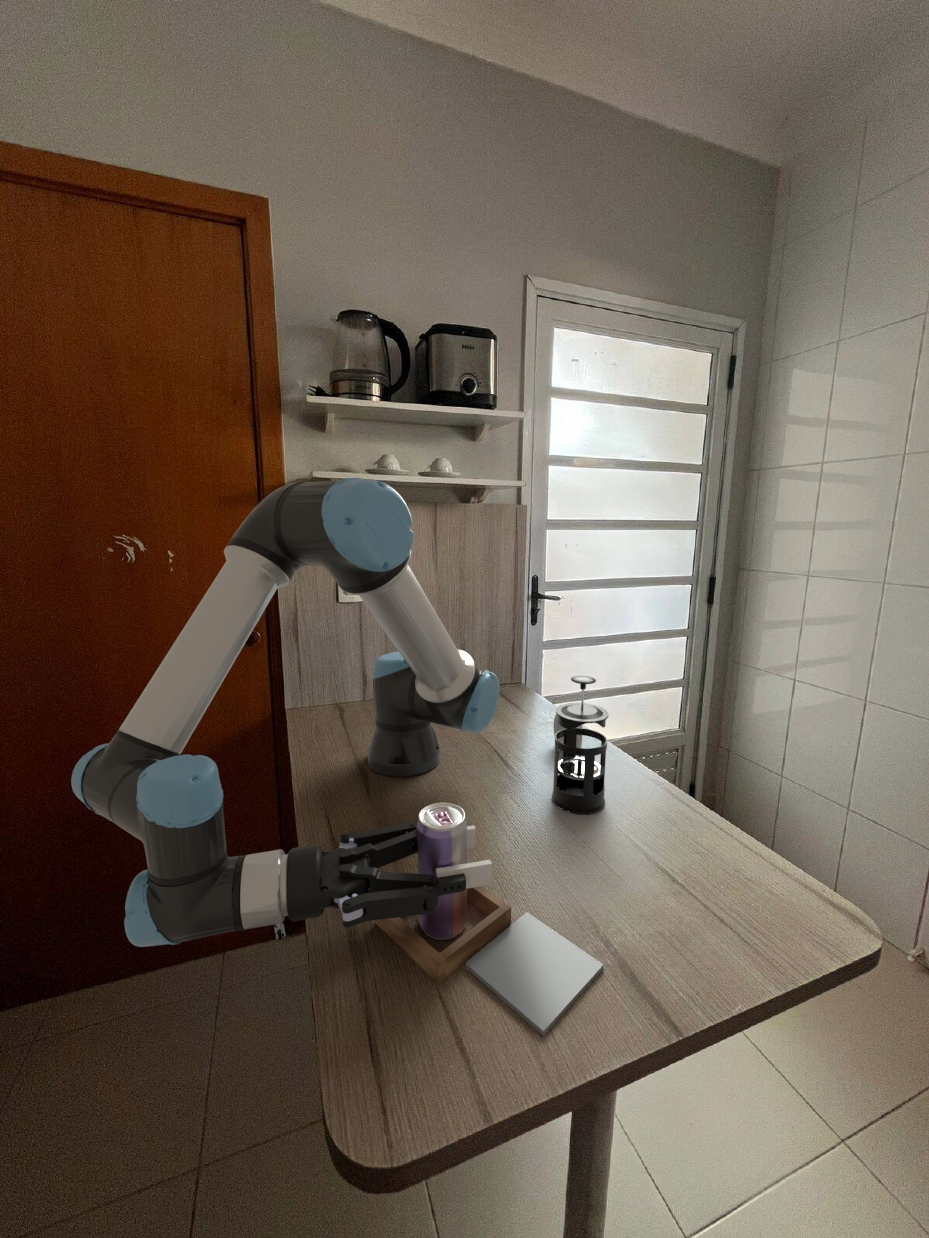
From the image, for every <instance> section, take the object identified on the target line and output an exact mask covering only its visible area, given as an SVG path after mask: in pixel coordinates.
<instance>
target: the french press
mask: <svg viewBox="0 0 929 1238" xmlns="http://www.w3.org/2000/svg"><path fill="white" fill-rule="evenodd" d="M570 681H571V682H572V683H576V684H580V686H579V687H580V690H581V702H567V703H564V704H560V705H558V706H557V707H556V708H555V713H556V714H557V715H558V723H559V725H560V726H562V727H563V728H564V729H563V730H560V731H558V732H557V733H556V734H555V736H554V757H553V758H554V759H553V761H554V762H553V763H554V764H553V781H552V782H553V784H552V785H553V786H552V787H553V788H552V789H553V790H552V793H551V800H553V801H552V802H554V803H555V804H556V805H557V806H558V807H560V808H562V809H563V810H562V809H561V810H562V811H564V810H565V811H564V812H566V811H569V812H568V813H570V812H571V813H570V814H574V813H575V814H574V815H581V814H586V815H592V814H591V813H593V814H596V813H595V812H597V811H599V812H601V811H602V810H603V809H604V808H603V807H605V806H604V805H605V804H606V799H605V788H606V787H605V776H606V775H605V774H606V773H605V772H606V760H607V759H606V755H607V748H608V738H607V737H606V735H604V734H603V733H601V732H599V731H596V730H593V729H589V728H583V725H586V724H598V725H599V726H600V727H602V728H605V727H606V720H608V718H609V711H607V709H606V708H604V707H602V706H600V705H599V706H598V705H597V704H596V705H595V704H592V703H584V698H585V696H584V694H585V690H586V688H587V685H590V684H591V685H592V684H594V683H596V682H597V679H596V678H594V677H592V676H588V675H576V676H572V677H571V678H570ZM556 714H555V715H556ZM578 726H580V728H577V727H578ZM577 735H580V745H579V748H576V739H577ZM563 736H564V744H563V743H561V742H559V741H558V739H559V738H561V737H563ZM583 736H584V737H585V736H587V737H590V738H594V739H596V740H598V741H600V746H597V747H593V748H590V747H589V748H582V746H581V745H583ZM562 751H563V752H562ZM560 752H562V758H561V759H559V757H560V755H559V754H560ZM598 755H600V760H599V761H600V762H598V761H596V756H598ZM572 789H573V790H582V795H579V794H572V793H568V792H566V791H567V790H572ZM554 803H553V804H554ZM555 804H554V805H555ZM556 805H555V806H556ZM557 806H556V807H557ZM558 807H557V808H558ZM560 808H559V809H560ZM602 808H603V809H602ZM601 809H602V810H601ZM600 810H601V811H600ZM597 813H598V812H597Z"/></svg>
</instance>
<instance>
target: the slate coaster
mask: <svg viewBox="0 0 929 1238" xmlns="http://www.w3.org/2000/svg"><path fill="white" fill-rule="evenodd" d="M464 968H465V969H466V970H467V971H468V972H469V973H470V974H472V975H473V977H475V978H476V979H477V980H479V981H480V982H481V983H482V984H483V985H484V986H486V987H487V988H488V989H489V990H490V991H491V992H492V993H494V994H495V996H497V997H498V998H499V999H500V1000H501V1001H502V1002H503V1003H504V1004H506V1006H509V1008H511V1010H513V1011H514V1012H515V1013H516V1014H517V1015H518V1016H520V1017H521V1018H522V1019H523V1020H524V1021H526V1023H527V1024H529V1025H530V1026H531V1027H532V1028H533V1029H534V1030H535V1031H537V1032H538V1034H539V1035H541V1036H542V1037H545V1036H546V1034H547V1033H548V1032H549V1031H550V1030H551V1028H552V1027H554V1025H555V1024H556V1023H557V1022H558V1021H559V1020H560V1018H561V1017H562V1016H563V1015H564V1014H565V1013H566V1012H567V1011H568V1009H569V1008H570V1007H571V1006H572V1005H573V1004H574V1003H575V1002H576V1000H577V999H578V998H579V997H580V996H581V995H582V994H583V993H584V991H585V990H586V989H587V988H588V987H589V986H590V985H591V983H592V982H594V981H595V979H596V978H597V977H598V976H599V975H600V974H601V972H602V971H604V964H603V963H602V962H600V961H599V960H597V959H596V958H595V957H593V956H592V955H591V954H589V953H588V952H586V951H584V950H583V949H582V948H580V947H579V946H577V945H575V944H574V943H573V942H571V941H570V940H568V939H567V938H565V937H564V936H563V935H561V934H559V933H558V932H556V931H555V930H554V929H553V928H552V927H549V926H548V925H546V924H545V923H544V922H542V921H541V920H539V919H538V918H536V917H535V916H534V915H532V914H531V913H529V912H528V911H527V912H525V913H524V914H523V915H521V916H520V917H519V918H518V919H516V921H514V922H513V923H511V925H510V926H509V927H507V928H506V929H505V930H504V931H502V932H501V933H500V934H499V935H498V936H496V937H495V938H494V939H493V940H492V941H490V942H489V943H488V944H487V945H485V946H484V947H483V948H482V949H481V950H479V951H478V952H477V953H476V954H475V955H473V956H472V957H471V958H470V959H468V960H467V961H466V962H465V963H464Z"/></svg>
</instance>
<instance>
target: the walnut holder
mask: <svg viewBox="0 0 929 1238" xmlns="http://www.w3.org/2000/svg"><path fill="white" fill-rule="evenodd" d="M467 902H469V903H470V904H472V905H473V906H474V907H476V908H477V909H478V910H480V911H481V912H482V913H484V914H485V915H486V917H485V918H483V919H482V920H481V921H480V922H478V923H477V924H476V925H475V926H473V927H472V928H470V929H469V930H467V932H465V933H464V934H462V935H461V936H460V937H458V939H456V940H455V941H453V942H452V943H451V944H450V945H448V946H447V947H446V948H445V949H443V950H442V951H441V952H438V951H437V950H436V949H435V948H434V947H433V946H432V945H431V944H429V943H428V942H427V941H426V940H425V939H424V938H423V937H422V936H421V935H419V934H418V933H417V932H416V931H415V930H414V929H413V928H411V926H410V925H409V924H407V923H406V922H405V921H404V920H403V919H402V918H401V917H397V918H388V919H380V920H374V921H375V925H377V926H378V927H379V928H380V929H381V930H382V931H383V932H384V933H385V934H386V935H387V936H388V937H389V938H390V939H392V941H394V943H396V944H397V945H398V946H399V948H401V949H402V950H403V951H404V952H405V953H406V954H407V955H408V956H409V957H410V958H411V959H412V960H413V961H415V963H416V964H417V965H419V967H420V968H421V969H423V970H424V971H425V973H427V974H428V975H429V976H430V977H431V978H432V979H433V980H434V981H435V982H436V983H437V984H441V983H442V982H443V981H445V980H446V978H448V977H449V976H450V975H452V974H453V973H454V972H455V971H456V970H458V969H459V968H460V967H461V966H462V965H465V963H466V962H467V961H468V960H469V959H470V958H472V957H473V956H474V955H475V954H477V953H478V952H479V951H480V950H481V949H483V948H484V947H485V946H486V945H487V944H489V943H490V942H491V941H492V940H494V939H495V938H496V937H497V936H498V935H500V934H501V933H502V932H503V931H504V930H506V929H507V928H508V927H509V926H511V925H512V906H511V905H509V904H508V903H506V902H505V901H504V900H502V899H501V898H499V897H498V896H496V895H495V894H493V893H492V892H491V891H489V890H488V889H486V888H485V887H484V886H478V887H473V888H467Z"/></svg>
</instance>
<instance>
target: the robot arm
mask: <svg viewBox="0 0 929 1238" xmlns="http://www.w3.org/2000/svg"><path fill="white" fill-rule="evenodd" d="M413 524H414V523H413V519H412V514H411V512H410V509H409V507H408V505H407V503H406V501H405V500H404V499H403V497H402V496H401V495H400V494H399V492H398V491H397V490H396V489H394V488H393V487H392V486H390V485H389V484H387V483H386V482H383V481H380V480H376V479H366V478H365V479H364V478H360V477H348V478H342V479H341V480H340V479H339V480H334V481H333V480H330V481H329V480H328V481H327V480H326V481H308V482H307V481H298V482H292V483H287V484H285V485H283V486H281V487H278V488H277V489H275V490H274V491H272V492H271V493H269V494H268V495H266V497H264V498H263V499H262V500H261V501H260V502H259V503H258V504H257V505H256V506H255V507H254V508H253V509H252V511H250V513H249V514H248V515H247V516H246V518H245V519H244V520H243V521H242V523H241V524H240V525H239V526H238V528H237V529H236V530H235V532H234V534H233V535H232V537H231V538H230V540H229V541H228V543H227V545H226V546H225V548H224V549H223V554H224V557H225V560H226V561H225V563H223V566H222V568H221V569H220V571H219V572H218V574H217V575H216V577H215V578H214V580H213V582H212V583H211V585H209V587H208V589H207V591H206V593H205V594H204V595H203V597H202V599H201V600H200V601H199V603H198V605H197V606H196V608H195V609H194V611H193V612H192V614H191V615H190V618H189V619H188V621H187V622H186V623H185V625H184V627H183V629H182V630H181V632H180V633H179V634H178V636H177V637H176V640H175V641H174V642H173V644H172V646H171V647H170V649H169V650H168V652H167V653H166V655H165V656H164V657H163V660H162V661H161V662H160V664H159V666H158V668H157V669H156V671H155V672H154V674H153V675H152V677H151V679H150V680H149V681H148V683H147V685H146V686H145V688H144V690H143V691H142V693H141V694H140V695H139V697H138V698H137V700H136V702H135V703H134V705H133V707H132V708H131V709H130V711H129V713H128V714H127V716H126V718H125V719H124V721H123V723H121V725H120V727H119V729H118V730H117V731H116V733H115V735H114V736H113V737H112V739H111V740H110V742H109V743H104V744H99V745H98V746H95V747H94V748H93V749H91V750H89V751H88V752H87V753H85V754H84V755H82V756H81V757H80V759H79V760H78V762H77V763H76V764H75V766H74V768H73V770H72V774H71V780H70V781H71V788H72V792H73V793H74V795H75V796H76V798H78V800H80V802H82V803H83V804H84V805H85V806H86V808H87V809H89V810H90V811H92V812H93V813H94V814H96V815H99V816H101V817H103V818H105V819H107V820H108V821H110V822H112V823H113V824H115V825H116V826H118V827H119V828H120V829H123V830H124V831H125V832H127V833H128V834H130V835H132V837H134V838H136V839H138V841H141V842H142V844H143V848H144V853H145V857H146V864H147V869H144V870H142V871H141V872H139V873H138V874H137V875H136V876H135V877H134V878H133V880H132V882H131V883H130V885H129V889H128V891H127V893H126V894H127V895H126V899H125V906H124V909H125V911H124V912H125V917H124V924H123V925H124V931H125V934H126V937H127V940H128V941H129V943H131V944H132V945H133V946H134V947H135V946H136V947H139V948H145V947H155V946H163V945H173V946H174V945H180V944H181V943H184V942H189V941H193V940H198V939H202V938H207V937H211V936H216V935H220V934H221V935H222V934H226V933H231V932H240V931H245V930H249V929H255V928H261V927H267V926H272V925H278V924H282V923H283V922H284V920H285V918H286V917H287V918H288V920H290V921H291V922H292V923H293V922H298V921H304V920H305V921H306V920H309V919H316V918H319V917H321V916H322V915H323V914H324V912H325V908H333V909H339V910H340V912H341V916H342V926H343V927H344V928H347V929H348V928H352V927H355V926H357V925H360V924H362V923H365V922H368V921H375V920H380V919H388V918H397V917H399V918H403V917H413V916H419V915H422V914H430V913H433V912H434V911H435V906H436V905H437V904H438V897H439V896H441V895H446V894H452V893H457V892H462V891H464V890H466V889H467V888H473V887H478V886H482V887H484V886H489V885H492V884H493V881H492V880H493V863H492V861H491V859H486V860H479V861H475V862H467V863H466V864H460V865H454V866H448V867H442V868H436V875H431V874H418V873H410V872H391V871H380V870H379V869H380V868H382V867H384V866H388V865H390V864H392V863H395V862H397V861H400V860H402V859H405V858H407V857H410V856H413V855H415V854H418V843H417V822H414V821H411V822H406V823H401V824H396V825H392V826H391V825H390V826H386V827H385V826H384V827H381V828H376V829H370V830H366V831H360V832H342V833H340V835H339V837H340V844H339V847H337V848H335V849H332V850H330V851H327V852H324V851H323V848H322V846H321V845H320V844H312V845H305V846H297V847H293V848H291V849H290V850H289V851H288V853H287V854H286V853H285V851H284V850H283V849H282V848H281V849H274V850H270V851H268V850H267V851H263V852H256V853H251V854H250V853H249V854H246V855H236V856H228V850H227V848H228V847H227V841H226V840H227V839H226V829H225V828H226V826H225V813H224V812H225V811H224V789H223V788H222V784H221V780H220V774H219V768H218V766H217V764H216V762H215V760H213V759H212V758H210V757H208V756H206V755H203V754H202V755H201V754H197V755H191V753H190V754H181V753H182V752H183V751H184V749H185V747H186V745H187V743H188V742H189V740H190V738H191V737H192V734H193V733H194V732H195V730H196V728H197V727H198V725H199V723H200V721H202V718H203V716H204V714H205V713H206V711H207V709H208V707H209V706H210V704H211V702H212V701H213V699H214V697H215V695H216V694H217V692H218V690H219V689H220V688H221V686H222V683H223V682H224V680H225V678H226V677H227V675H228V673H229V672H230V670H231V668H232V667H233V665H234V663H235V662H236V659H237V658H238V657H239V654H240V653H241V652H242V649H243V648H244V646H245V644H246V642H247V641H248V639H249V638H250V635H252V632H253V630H254V629H255V627H256V626H257V624H258V622H259V620H260V618H261V617H262V615H263V613H264V612H265V610H266V608H267V607H268V605H269V603H270V602H271V600H272V598H273V596H274V595H275V593H276V591H277V590H278V589H280V588H284V587H287V586H288V585H289V584H290V582H291V580H292V578H293V577H294V575H295V574H296V573H297V572H298V571H299V570H300V569H302V568H303V567H305V566H311V567H323V568H324V569H325V570H326V571H327V572H328V574H330V576H331V577H332V579H333V580H334V582H335V583H336V584H337V585H338V586H339V588H340V589H341V590H342V592H344V593H346V594H348V595H351V596H353V595H354V596H359V598H360V599H361V601H362V602H363V603H364V605H365V606H366V607H367V608H368V610H369V612H370V613H371V614H372V616H373V617H374V618H375V620H376V621H377V623H378V624H379V625H380V627H381V629H382V630H383V631H384V633H385V634H386V636H387V637H388V638H389V639H390V641H391V643H392V644H393V645H394V647H395V649H396V650H397V651H394V652H393V651H392V652H390V653H386V654H383V655H381V656H379V657H377V658H376V659H375V660H374V663H373V676H372V687H373V703H374V725H375V726H374V730H373V733H372V737H371V740H370V745H369V747H368V750H367V764H368V766H369V768H370V769H371V770H372V771H374V772H375V773H377V774H379V775H384V776H388V777H396V778H397V777H401V778H403V777H404V778H405V777H411V776H413V777H414V776H417V775H421V774H425V773H427V772H429V771H431V770H433V769H435V768H436V767H437V766H438V765H439V763H440V762H441V746H440V744H439V741H438V739H437V735H436V732H435V729H434V726H433V724H436V725H440V726H444V727H447V728H448V727H449V728H452V729H456V730H460V731H461V732H464V733H465V732H469V733H473V734H478V733H481V732H482V731H483V730H485V729H486V728H487V727H488V726H489V725H490V724H491V721H492V720H493V718H494V715H495V713H496V711H497V707H498V703H499V698H500V681H499V678H498V676H497V675H496V673H494V672H492V671H490V670H488V669H486V670H482V669H480V668H478V666H477V664H476V663H475V661H474V659H473V658H472V656H471V655H470V654H469V653H468V652H467V651H465V650H463V649H459V648H457V646H456V644H455V643H454V641H453V639H452V638H451V636H450V634H449V633H448V631H447V629H446V627H445V626H444V624H443V622H442V621H441V619H440V616H438V614H437V612H436V610H435V609H434V607H433V605H432V603H431V601H430V600H429V598H428V596H427V595H426V593H425V592H424V590H423V587H422V586H421V584H420V583H419V581H418V579H417V578H416V575H415V574H414V572H413V571H412V569H411V567H410V566H409V562H410V561H411V557H412V546H413V544H414V543H413V542H414V537H415V536H414V535H415V534H414V533H415V532H414V531H413V530H411V526H412V525H413ZM476 835H477V829H476V825H467V849H473V848H476V847H477V846H476V843H477V839H476V837H477V836H476ZM424 885H426V887H423V886H424ZM423 900H424V903H423Z"/></svg>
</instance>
